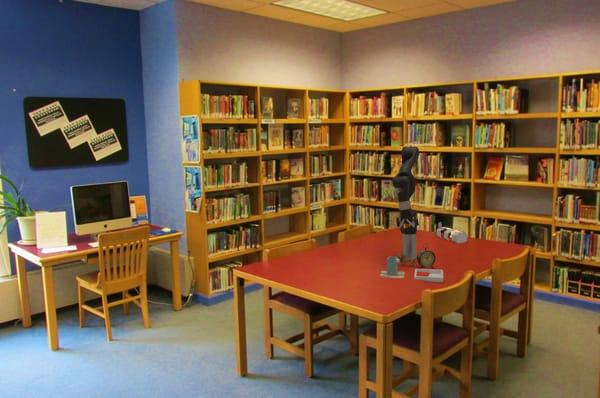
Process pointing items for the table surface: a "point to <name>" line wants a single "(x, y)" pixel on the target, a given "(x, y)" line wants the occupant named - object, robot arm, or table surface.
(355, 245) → the table surface
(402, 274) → the stake base
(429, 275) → the tray
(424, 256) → the alarm clock
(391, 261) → the blue grey tall block
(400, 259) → the lion figurine
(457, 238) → the white black banded cylinder
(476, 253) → the table surface
